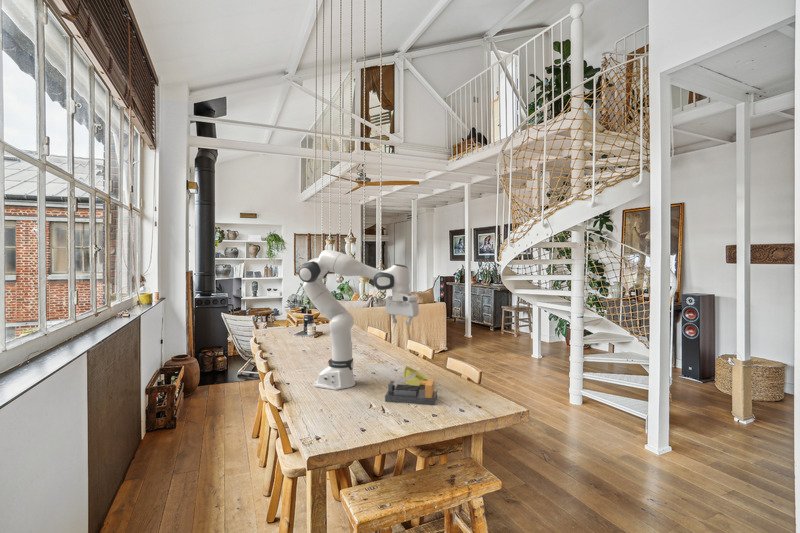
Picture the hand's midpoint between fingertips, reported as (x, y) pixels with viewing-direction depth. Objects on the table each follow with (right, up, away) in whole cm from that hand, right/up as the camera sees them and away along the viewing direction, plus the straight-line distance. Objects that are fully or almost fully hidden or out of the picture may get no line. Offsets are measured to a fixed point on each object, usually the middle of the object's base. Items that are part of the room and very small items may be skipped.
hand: (401, 324), depth 197 cm
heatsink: (+5, -36, -5) cm, 37 cm away
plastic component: (+9, -36, +19) cm, 41 cm away
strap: (+1, -27, -5) cm, 28 cm away
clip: (+12, -33, -7) cm, 36 cm away
